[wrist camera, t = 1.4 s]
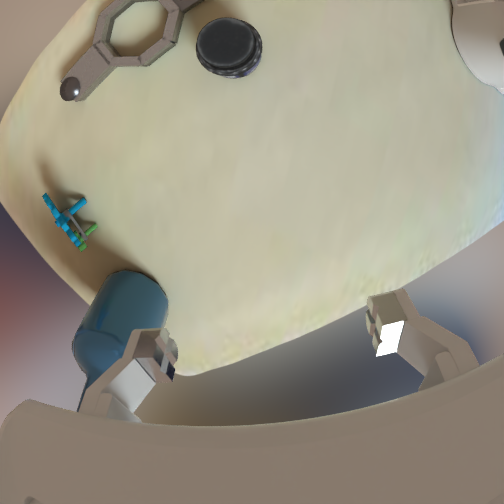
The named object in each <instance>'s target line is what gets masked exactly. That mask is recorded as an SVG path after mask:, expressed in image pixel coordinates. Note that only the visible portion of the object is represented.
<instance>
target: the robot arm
mask: <svg viewBox="0 0 504 504" xmlns="http://www.w3.org/2000/svg"><path fill="white" fill-rule="evenodd" d="M451 1H452V5H453V17H452V29H453V35H454V39H455V42H456V45H457V48H458V50H459V52H460V55H461V57H462V58H463V60H464V62H465V64H466V65H467V67H468V68H469V69H470V71H471V72H472V73H473V74H474V75H475V76H476V77H477V78H478V79H479V80H481V81H482V82H484V83H485V84H488V85H491V86H494V87H496V89H497V90H498V91H499V92H500V93H502V94H503V95H504V0H451ZM367 305H368V308H369V309H368V310H367V311H366V325H367V329H368V332H369V334H370V335H371V336H373V346H374V348H375V351H376V354H377V356H378V355H382V354H387V353H391V352H395V351H397V353H398V354H399V355H400V356H402V357H403V358H404V359H405V360H406V361H408V362H409V363H410V364H411V365H412V366H413V367H414V368H416V369H417V370H418V371H419V372H420V373H422V374H423V375H424V376H425V379H424V380H423V382H422V384H421V386H420V388H419V389H418V391H419V392H416V393H413V394H410V395H408V396H404V397H401V398H398V399H395V400H391V401H388V402H384V403H381V404H377V405H373V406H369V407H365V408H361V409H357V410H353V411H348V412H344V413H339V414H334V415H328V416H323V417H317V418H311V419H305V420H297V421H289V422H281V423H272V424H260V425H245V426H211V427H210V426H174V425H160V424H149V423H141V420H140V418H138V417H137V416H136V415H135V414H133V412H134V411H135V410H136V408H137V407H138V406H139V405H140V403H141V402H142V401H143V399H144V398H145V397H146V395H147V394H148V393H149V391H150V390H151V389H152V388H153V386H154V385H155V382H173V378H174V373H175V368H174V366H173V365H174V364H175V362H176V361H177V359H178V348H177V345H176V343H175V341H174V340H173V339H171V338H169V334H170V333H169V332H168V330H167V329H166V328H150V329H134V330H133V331H132V332H131V335H130V338H129V340H128V343H127V346H126V348H125V351H124V354H123V357H122V358H119V359H118V360H117V361H116V362H115V363H114V364H113V365H112V366H111V367H110V368H109V369H107V370H106V371H105V372H104V373H103V374H102V375H101V376H100V377H99V378H98V379H97V380H96V381H95V382H94V383H93V384H92V385H91V386H90V387H88V388H87V389H86V392H85V394H84V397H83V400H82V403H81V406H80V409H79V412H74V411H70V410H66V409H62V408H58V407H55V406H51V405H47V404H44V403H41V402H37V401H34V400H31V399H27V400H25V401H24V402H22V403H21V404H19V405H18V406H17V407H16V408H15V409H14V410H13V411H12V412H10V413H9V414H8V415H7V417H6V418H5V420H4V422H3V424H2V426H1V428H0V504H504V354H502V355H500V356H499V357H497V358H495V359H493V360H491V361H489V362H487V363H485V364H483V365H481V366H479V364H478V362H477V360H476V358H475V356H474V354H473V352H472V350H471V348H470V346H469V344H468V343H467V341H465V340H463V339H461V338H460V337H458V336H456V335H455V334H453V333H452V332H450V331H448V330H446V329H445V328H443V327H441V326H439V325H438V324H436V323H435V322H433V321H431V320H429V319H428V318H426V317H424V316H422V317H420V315H419V313H418V312H417V310H416V308H415V306H414V304H413V303H412V301H411V299H410V297H409V296H408V294H407V292H406V291H405V289H403V288H402V289H398V290H394V291H390V292H386V293H382V294H378V295H373V296H369V297H368V299H367Z"/></svg>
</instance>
